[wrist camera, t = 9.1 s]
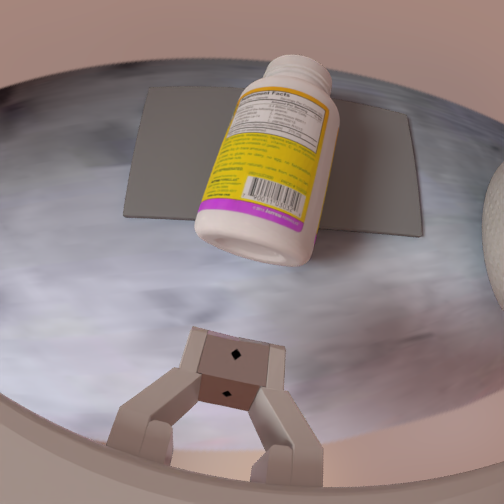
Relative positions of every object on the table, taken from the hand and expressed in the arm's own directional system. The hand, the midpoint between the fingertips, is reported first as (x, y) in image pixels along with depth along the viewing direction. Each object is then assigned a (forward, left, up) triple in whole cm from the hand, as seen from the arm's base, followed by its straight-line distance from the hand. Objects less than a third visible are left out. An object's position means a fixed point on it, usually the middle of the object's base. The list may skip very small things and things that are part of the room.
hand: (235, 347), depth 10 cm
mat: (+5, +11, -11) cm, 16 cm away
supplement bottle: (+1, +4, -7) cm, 8 cm away
